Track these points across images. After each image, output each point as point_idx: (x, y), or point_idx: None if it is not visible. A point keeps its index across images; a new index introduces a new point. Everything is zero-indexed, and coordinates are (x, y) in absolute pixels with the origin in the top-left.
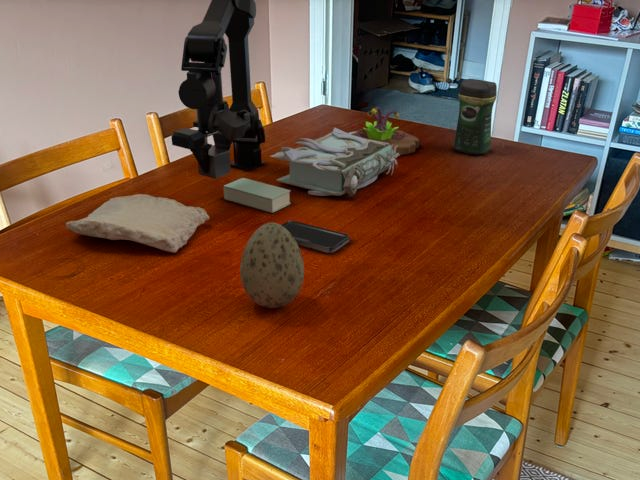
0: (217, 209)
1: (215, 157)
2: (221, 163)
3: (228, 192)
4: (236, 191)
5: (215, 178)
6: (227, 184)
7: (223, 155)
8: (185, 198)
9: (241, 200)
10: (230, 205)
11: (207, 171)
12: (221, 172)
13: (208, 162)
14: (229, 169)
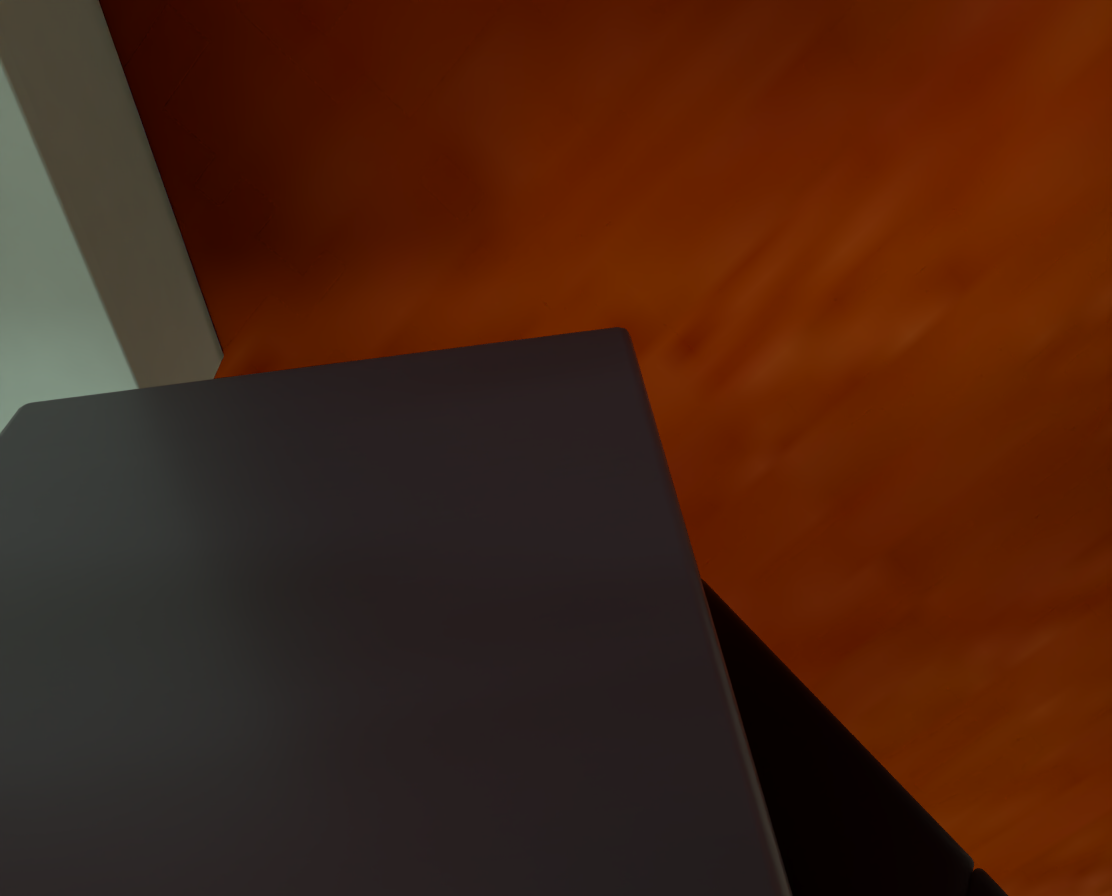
0: (533, 142)
1: (685, 849)
2: (321, 602)
3: (163, 334)
4: (73, 186)
5: (627, 340)
6: None
7: (89, 876)
8: None
9: (84, 31)
10: (285, 122)
11: (716, 604)
12: (385, 412)
13: (764, 795)
14: (36, 450)
